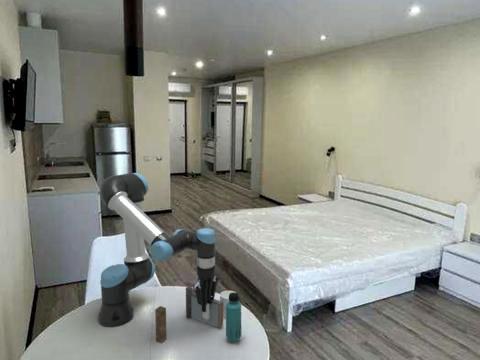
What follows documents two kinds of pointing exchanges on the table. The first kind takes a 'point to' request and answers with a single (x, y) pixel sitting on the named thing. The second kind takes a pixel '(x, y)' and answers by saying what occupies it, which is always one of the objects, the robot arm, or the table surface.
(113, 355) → the table surface
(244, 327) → the table surface
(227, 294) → the white cup
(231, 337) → the beverage bottle
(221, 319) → the gate panel
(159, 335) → the gate frame
